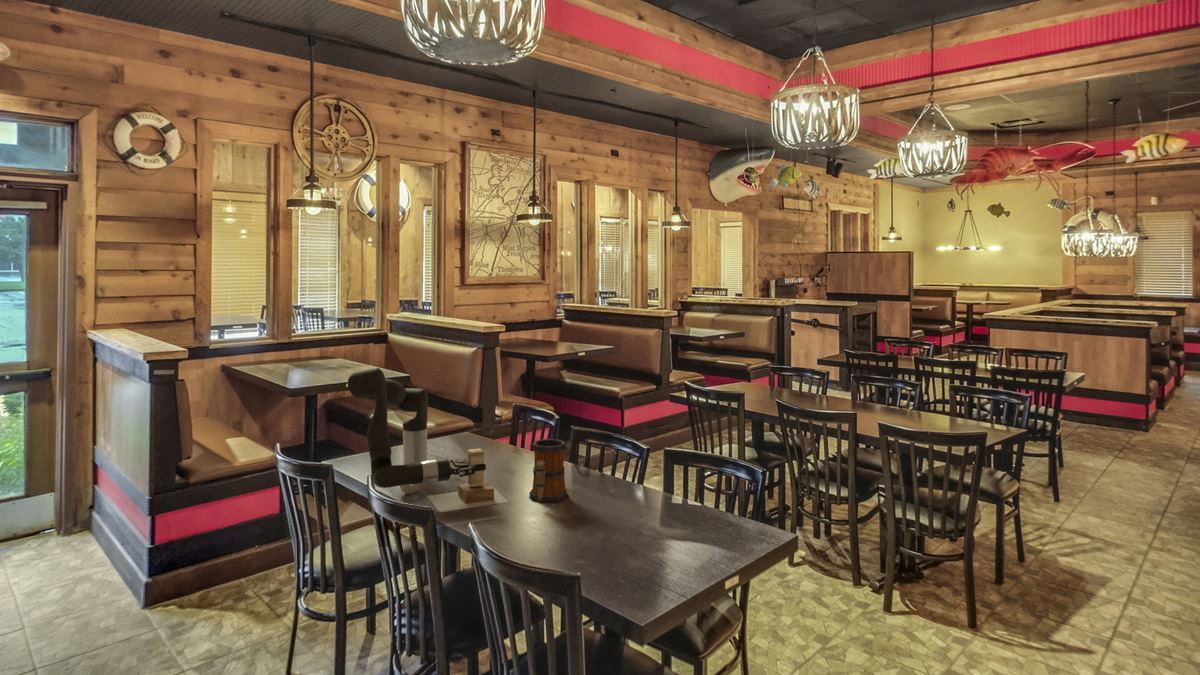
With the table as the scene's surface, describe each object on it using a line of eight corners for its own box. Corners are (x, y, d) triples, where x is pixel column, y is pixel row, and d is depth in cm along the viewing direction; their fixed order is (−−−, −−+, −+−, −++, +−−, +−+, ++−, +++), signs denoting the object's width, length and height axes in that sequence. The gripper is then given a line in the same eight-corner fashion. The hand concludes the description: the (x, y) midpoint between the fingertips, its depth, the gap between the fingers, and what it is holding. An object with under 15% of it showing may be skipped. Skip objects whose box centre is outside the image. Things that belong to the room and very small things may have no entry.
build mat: (427, 497, 243) (427, 495, 243) (492, 488, 254) (492, 486, 254) (439, 513, 227) (439, 512, 227) (508, 503, 238) (508, 501, 238)
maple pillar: (467, 483, 242) (467, 449, 241) (480, 481, 244) (479, 448, 243) (471, 486, 238) (471, 452, 237) (483, 485, 240) (483, 451, 239)
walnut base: (458, 495, 244) (457, 484, 244) (485, 491, 248) (485, 480, 248) (465, 504, 235) (465, 492, 235) (494, 499, 240) (494, 488, 239)
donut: (403, 498, 242) (402, 470, 241) (397, 496, 244) (396, 469, 243) (426, 491, 249) (426, 464, 248) (420, 489, 252) (420, 462, 250)
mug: (560, 511, 230) (560, 453, 228) (518, 508, 233) (518, 450, 231) (573, 493, 249) (573, 438, 247) (535, 490, 252) (535, 436, 250)
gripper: (439, 465, 227) (489, 459, 235) (429, 454, 240) (477, 449, 248) (439, 487, 228) (489, 480, 236) (429, 475, 241) (477, 469, 249)
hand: (483, 464), depth 242 cm, fingers closed on maple pillar, 4 cm apart
